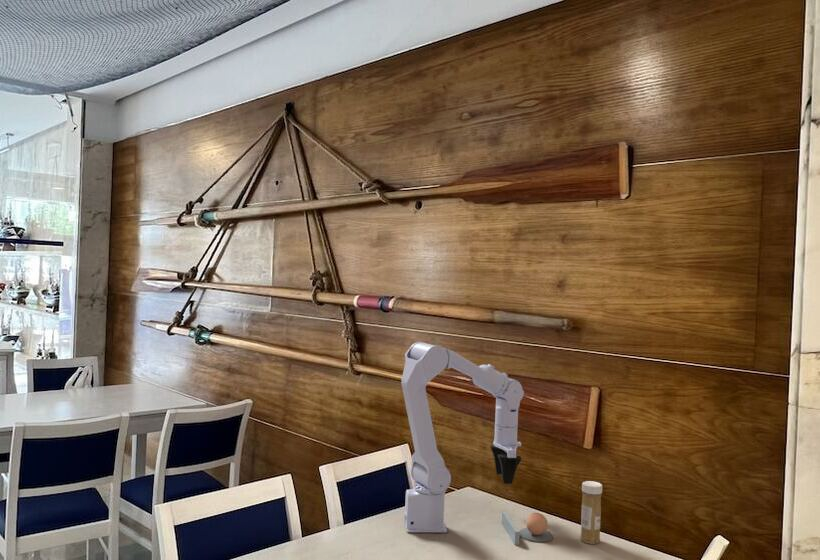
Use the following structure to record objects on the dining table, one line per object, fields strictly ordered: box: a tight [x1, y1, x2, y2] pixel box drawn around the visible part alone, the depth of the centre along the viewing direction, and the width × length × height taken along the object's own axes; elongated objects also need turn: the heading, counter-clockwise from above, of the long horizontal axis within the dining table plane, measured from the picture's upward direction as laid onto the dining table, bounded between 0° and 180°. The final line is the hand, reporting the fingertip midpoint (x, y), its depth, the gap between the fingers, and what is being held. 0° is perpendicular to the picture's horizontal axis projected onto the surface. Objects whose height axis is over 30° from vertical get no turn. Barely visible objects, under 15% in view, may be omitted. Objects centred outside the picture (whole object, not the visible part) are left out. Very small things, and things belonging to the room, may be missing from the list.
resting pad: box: [519, 527, 554, 543], centre depth 156 cm, size 8×8×1 cm
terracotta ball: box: [525, 512, 549, 535], centre depth 156 cm, size 5×5×5 cm
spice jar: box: [580, 480, 603, 545], centre depth 154 cm, size 5×5×14 cm
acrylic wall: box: [501, 510, 520, 546], centre depth 157 cm, size 1×13×3 cm, turn 5°
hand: (504, 478), depth 169 cm, fingers open, 7 cm apart
